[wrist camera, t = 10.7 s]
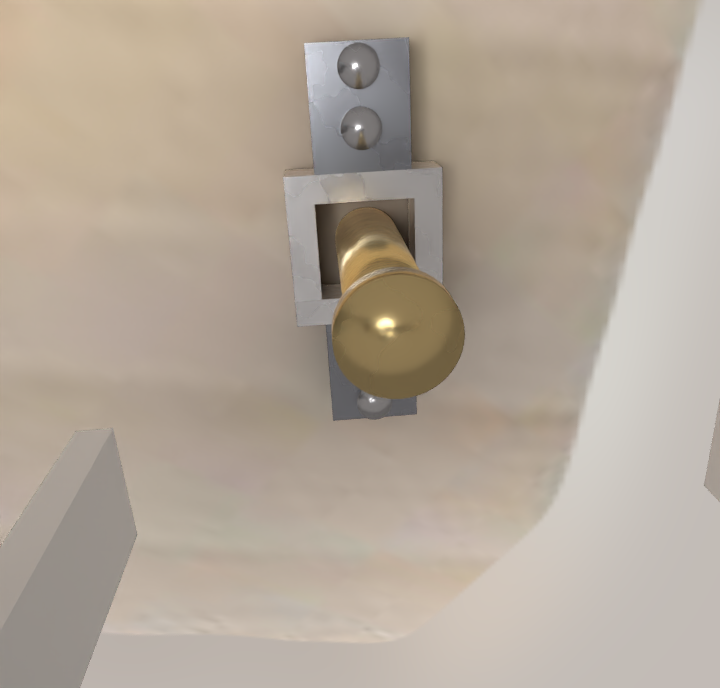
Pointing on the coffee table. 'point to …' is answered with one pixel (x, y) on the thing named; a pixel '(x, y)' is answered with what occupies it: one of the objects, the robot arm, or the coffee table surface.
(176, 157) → the coffee table surface
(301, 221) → the chain joint
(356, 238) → the pin
